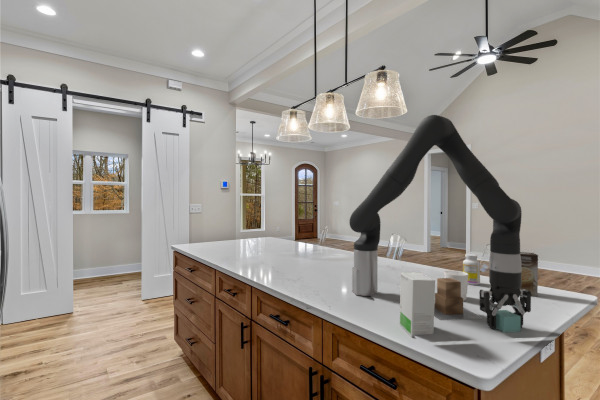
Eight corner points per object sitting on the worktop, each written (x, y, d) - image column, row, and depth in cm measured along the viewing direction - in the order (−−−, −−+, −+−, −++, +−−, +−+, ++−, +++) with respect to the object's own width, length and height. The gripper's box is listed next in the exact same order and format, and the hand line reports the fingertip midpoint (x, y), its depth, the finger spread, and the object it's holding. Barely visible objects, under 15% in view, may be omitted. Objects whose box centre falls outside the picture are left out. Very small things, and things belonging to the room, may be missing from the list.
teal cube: (503, 335, 82) (503, 316, 82) (490, 327, 87) (490, 310, 87) (520, 334, 83) (520, 316, 83) (506, 327, 88) (506, 309, 88)
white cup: (465, 297, 114) (465, 271, 115) (470, 304, 107) (470, 276, 107) (443, 295, 117) (443, 269, 117) (445, 301, 110) (445, 274, 110)
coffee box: (509, 293, 120) (509, 253, 120) (506, 289, 126) (506, 250, 126) (538, 296, 116) (538, 254, 117) (533, 292, 122) (533, 252, 122)
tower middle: (445, 298, 95) (445, 282, 95) (437, 293, 100) (437, 278, 100) (460, 297, 96) (460, 281, 96) (451, 293, 101) (451, 278, 101)
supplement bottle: (469, 280, 140) (469, 253, 140) (483, 284, 134) (483, 255, 134) (459, 282, 137) (459, 254, 137) (473, 286, 131) (473, 256, 131)
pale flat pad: (440, 322, 90) (440, 320, 90) (417, 306, 104) (417, 304, 104) (484, 321, 92) (484, 318, 92) (455, 305, 106) (455, 303, 106)
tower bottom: (445, 314, 95) (445, 298, 95) (434, 307, 101) (434, 292, 101) (463, 314, 95) (463, 298, 95) (451, 307, 101) (451, 292, 101)
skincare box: (399, 325, 88) (399, 272, 88) (420, 324, 89) (420, 271, 89) (412, 338, 80) (412, 279, 80) (435, 337, 80) (435, 278, 81)
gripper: (491, 272, 81) (491, 334, 80) (540, 271, 82) (540, 332, 82) (472, 266, 88) (472, 323, 88) (517, 265, 89) (517, 321, 89)
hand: (505, 327), depth 85 cm, fingers open, 7 cm apart
